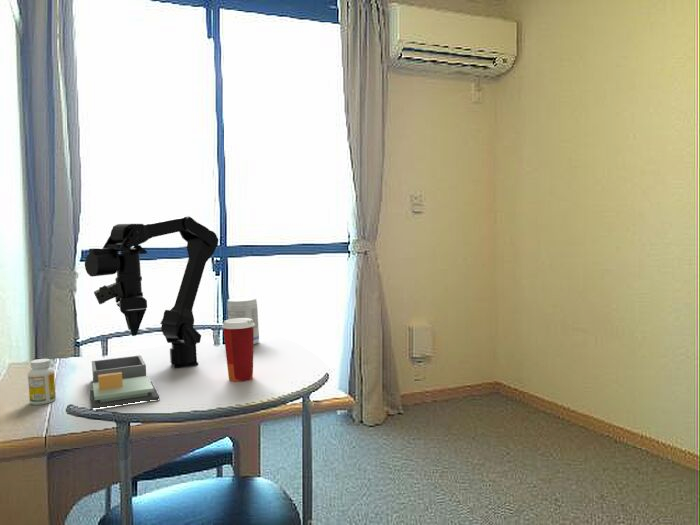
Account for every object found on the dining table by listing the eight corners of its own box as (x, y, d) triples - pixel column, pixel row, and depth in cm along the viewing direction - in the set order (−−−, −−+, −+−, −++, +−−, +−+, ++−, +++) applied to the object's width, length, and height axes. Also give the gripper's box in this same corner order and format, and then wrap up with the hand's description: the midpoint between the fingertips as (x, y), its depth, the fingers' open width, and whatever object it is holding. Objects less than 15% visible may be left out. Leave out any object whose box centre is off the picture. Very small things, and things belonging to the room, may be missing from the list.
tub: (141, 373, 159) (140, 355, 159) (146, 384, 148) (145, 364, 148) (93, 380, 154) (91, 361, 154) (94, 391, 143) (93, 371, 143)
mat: (151, 385, 147) (151, 381, 147) (159, 400, 135) (159, 396, 135) (90, 394, 141) (90, 390, 141) (92, 410, 129) (91, 406, 129)
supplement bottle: (35, 406, 133) (32, 364, 132) (25, 402, 136) (22, 361, 136) (60, 400, 137) (57, 359, 136) (50, 396, 140) (47, 356, 140)
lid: (147, 382, 146) (146, 363, 146) (154, 395, 135) (152, 375, 135) (93, 390, 141) (91, 370, 140) (94, 404, 130) (93, 383, 129)
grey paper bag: (250, 339, 200) (248, 295, 199) (264, 343, 193) (262, 298, 191) (223, 343, 194) (221, 299, 193) (238, 348, 187) (236, 302, 185)
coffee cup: (262, 375, 154) (260, 317, 152) (247, 384, 146) (244, 323, 145) (234, 373, 156) (231, 317, 155) (217, 381, 149) (214, 322, 147)
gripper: (93, 272, 157) (97, 330, 159) (96, 277, 141) (100, 342, 142) (137, 269, 162) (141, 325, 163) (145, 274, 145) (149, 337, 146)
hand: (132, 332), depth 154 cm, fingers open, 9 cm apart
